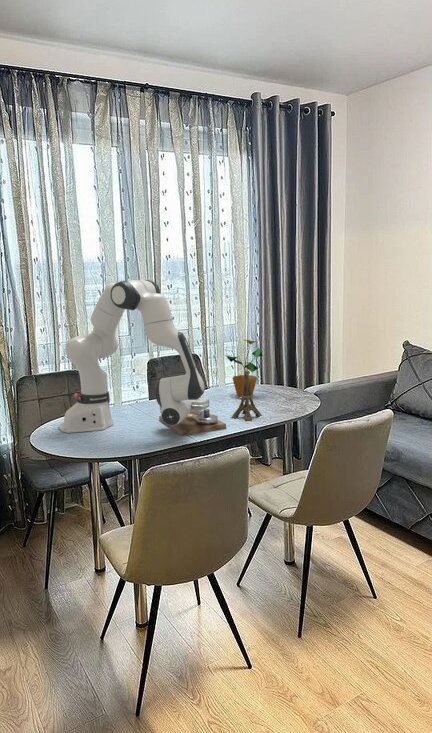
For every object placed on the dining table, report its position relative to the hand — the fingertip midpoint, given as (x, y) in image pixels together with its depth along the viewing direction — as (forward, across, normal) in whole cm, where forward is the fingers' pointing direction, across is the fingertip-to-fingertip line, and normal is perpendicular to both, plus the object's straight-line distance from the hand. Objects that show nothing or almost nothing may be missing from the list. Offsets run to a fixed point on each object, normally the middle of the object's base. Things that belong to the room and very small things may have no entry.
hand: (188, 398), depth 240 cm
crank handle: (-1, -4, +9) cm, 10 cm away
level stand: (-1, -1, +11) cm, 11 cm away
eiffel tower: (+13, -23, +11) cm, 29 cm away
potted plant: (+52, -17, +11) cm, 56 cm away
